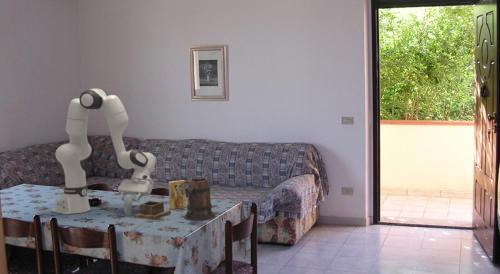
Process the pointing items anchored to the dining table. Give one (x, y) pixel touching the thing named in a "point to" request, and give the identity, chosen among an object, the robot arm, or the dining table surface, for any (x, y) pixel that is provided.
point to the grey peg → (128, 205)
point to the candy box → (177, 194)
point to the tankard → (199, 200)
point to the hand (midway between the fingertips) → (129, 200)
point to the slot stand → (152, 210)
